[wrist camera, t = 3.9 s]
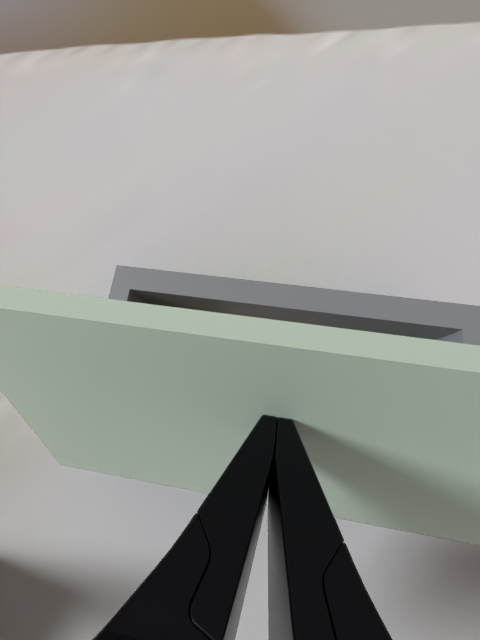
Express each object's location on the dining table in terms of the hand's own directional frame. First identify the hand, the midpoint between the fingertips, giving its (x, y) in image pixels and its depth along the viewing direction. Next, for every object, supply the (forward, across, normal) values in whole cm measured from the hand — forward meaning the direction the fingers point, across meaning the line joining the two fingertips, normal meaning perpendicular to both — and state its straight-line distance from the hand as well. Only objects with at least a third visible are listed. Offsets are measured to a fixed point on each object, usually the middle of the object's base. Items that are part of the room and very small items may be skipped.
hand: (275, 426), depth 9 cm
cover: (+1, 0, +1) cm, 2 cm away
